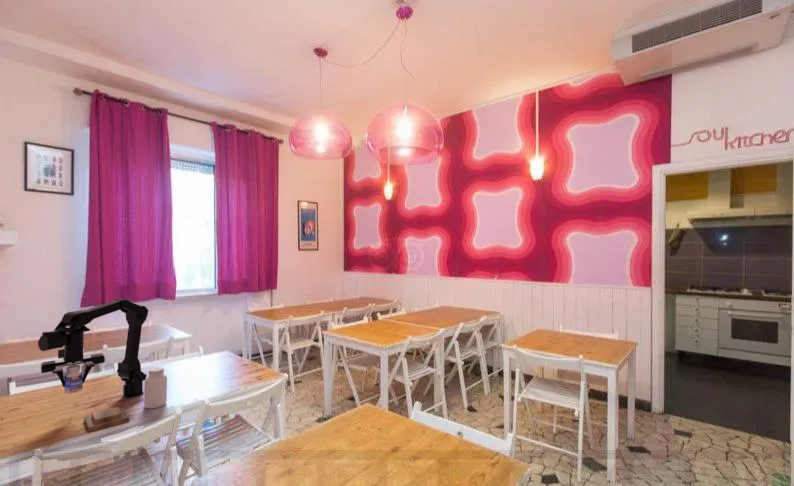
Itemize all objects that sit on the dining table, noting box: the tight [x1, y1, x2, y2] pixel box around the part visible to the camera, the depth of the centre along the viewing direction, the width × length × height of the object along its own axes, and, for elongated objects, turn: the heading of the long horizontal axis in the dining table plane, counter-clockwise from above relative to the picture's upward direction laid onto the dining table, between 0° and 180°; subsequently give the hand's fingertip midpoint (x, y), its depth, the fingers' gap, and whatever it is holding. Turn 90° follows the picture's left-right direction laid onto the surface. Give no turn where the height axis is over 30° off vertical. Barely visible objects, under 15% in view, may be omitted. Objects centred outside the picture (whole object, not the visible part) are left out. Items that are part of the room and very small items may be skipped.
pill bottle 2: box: [143, 367, 168, 410], centre depth 161 cm, size 8×8×15 cm
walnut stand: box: [84, 406, 130, 432], centre depth 146 cm, size 12×12×3 cm
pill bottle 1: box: [63, 364, 84, 395], centre depth 149 cm, size 5×5×10 cm
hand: (73, 384), depth 149 cm, fingers closed on pill bottle 1, 5 cm apart
